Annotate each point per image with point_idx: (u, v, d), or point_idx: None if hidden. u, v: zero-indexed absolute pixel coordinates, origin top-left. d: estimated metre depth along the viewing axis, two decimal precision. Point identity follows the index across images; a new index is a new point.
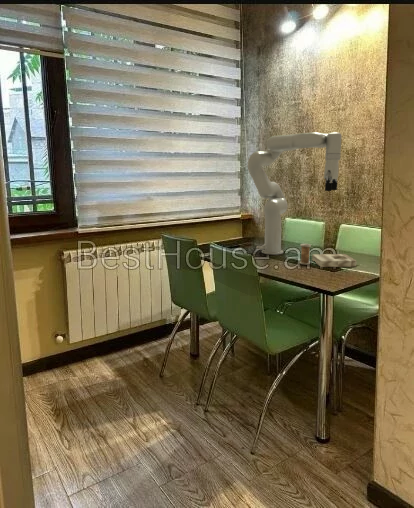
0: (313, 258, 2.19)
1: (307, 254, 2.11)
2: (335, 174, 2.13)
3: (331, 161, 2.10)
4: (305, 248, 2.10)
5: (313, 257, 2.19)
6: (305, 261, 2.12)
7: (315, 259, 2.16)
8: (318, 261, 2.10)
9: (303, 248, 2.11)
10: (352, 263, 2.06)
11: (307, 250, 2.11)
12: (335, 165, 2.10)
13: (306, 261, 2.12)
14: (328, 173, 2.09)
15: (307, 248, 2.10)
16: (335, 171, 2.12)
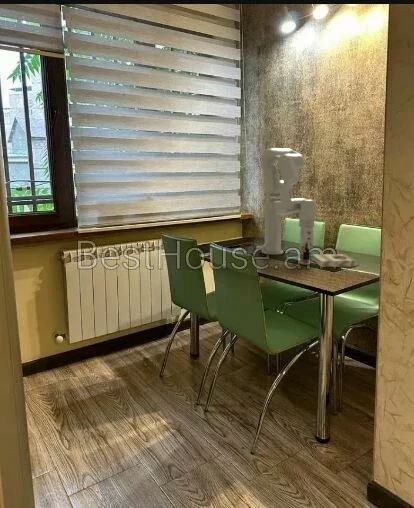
0: (313, 258, 2.19)
1: None
2: (300, 240, 2.13)
3: None
4: None
5: (313, 257, 2.19)
6: (305, 261, 2.12)
7: (315, 259, 2.16)
8: (318, 261, 2.10)
9: (303, 248, 2.11)
10: (352, 263, 2.06)
11: None
12: (300, 230, 2.13)
13: (306, 261, 2.12)
14: None
15: None
16: (300, 236, 2.13)
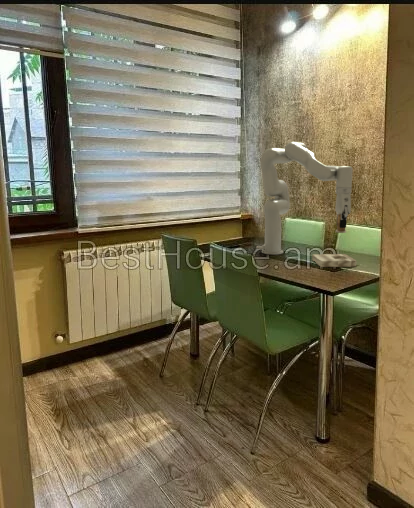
0: (313, 258, 2.19)
1: None
2: (337, 208, 2.10)
3: None
4: None
5: (313, 257, 2.19)
6: (341, 229, 2.09)
7: (315, 259, 2.16)
8: (318, 261, 2.10)
9: (339, 216, 2.08)
10: (352, 263, 2.06)
11: None
12: (336, 198, 2.10)
13: (342, 229, 2.09)
14: None
15: None
16: (336, 205, 2.10)
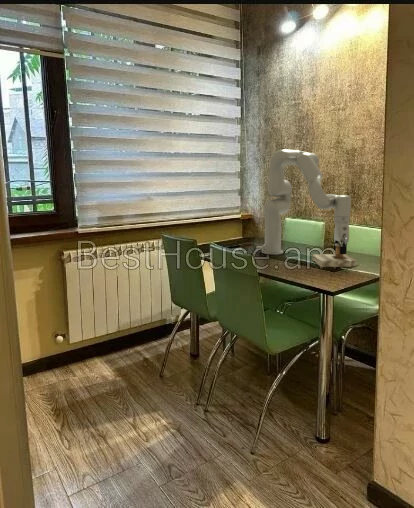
0: (313, 258, 2.19)
1: (341, 254, 2.12)
2: (335, 235, 2.13)
3: None
4: None
5: (313, 257, 2.19)
6: None
7: (315, 259, 2.16)
8: (318, 261, 2.10)
9: (338, 248, 2.11)
10: (352, 263, 2.06)
11: None
12: (335, 226, 2.13)
13: None
14: None
15: None
16: (335, 232, 2.13)
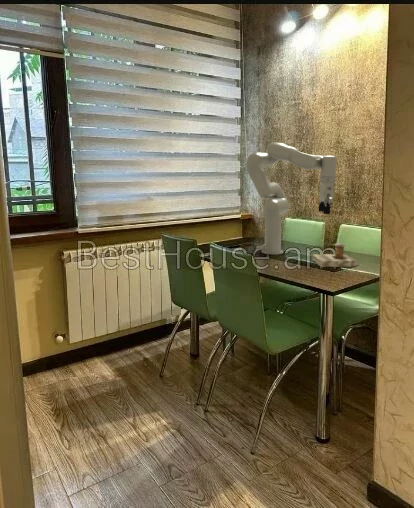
0: (313, 258, 2.19)
1: (341, 254, 2.12)
2: (320, 196, 2.17)
3: None
4: (340, 248, 2.11)
5: (313, 257, 2.19)
6: None
7: (315, 259, 2.16)
8: (318, 261, 2.10)
9: (338, 248, 2.11)
10: (352, 263, 2.06)
11: (342, 250, 2.11)
12: (320, 187, 2.17)
13: None
14: None
15: (342, 248, 2.11)
16: (320, 193, 2.17)
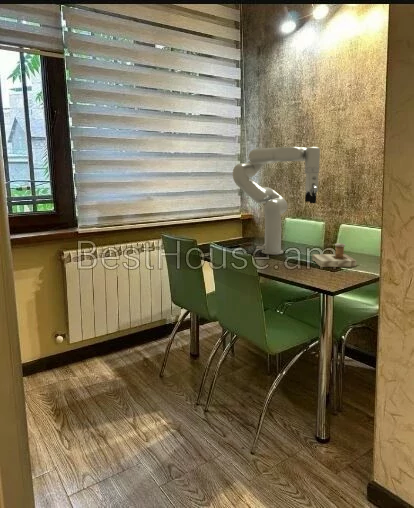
0: (313, 258, 2.19)
1: (341, 254, 2.12)
2: (306, 186, 2.24)
3: None
4: (340, 248, 2.11)
5: (313, 257, 2.19)
6: None
7: (315, 259, 2.16)
8: (318, 261, 2.10)
9: (338, 248, 2.11)
10: (352, 263, 2.06)
11: (342, 250, 2.11)
12: None
13: None
14: None
15: (342, 248, 2.11)
16: (306, 184, 2.24)
